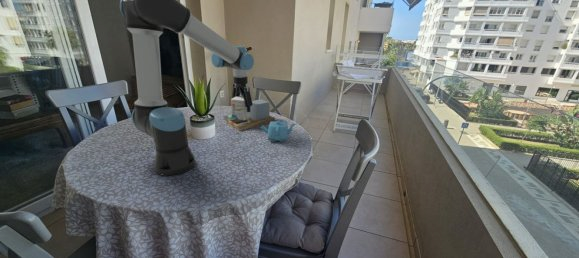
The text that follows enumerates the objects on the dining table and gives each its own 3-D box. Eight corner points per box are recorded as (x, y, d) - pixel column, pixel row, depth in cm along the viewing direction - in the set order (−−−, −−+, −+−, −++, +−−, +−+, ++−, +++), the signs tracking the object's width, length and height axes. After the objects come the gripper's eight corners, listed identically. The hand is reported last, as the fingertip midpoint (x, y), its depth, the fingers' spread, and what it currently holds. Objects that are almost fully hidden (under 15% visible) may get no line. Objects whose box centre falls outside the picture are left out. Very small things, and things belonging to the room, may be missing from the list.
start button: (236, 120, 148) (235, 115, 147) (230, 121, 146) (229, 117, 145) (232, 118, 151) (232, 114, 150) (227, 119, 148) (226, 115, 147)
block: (269, 120, 148) (269, 102, 144) (257, 124, 143) (256, 104, 138) (261, 117, 154) (261, 99, 150) (249, 120, 148) (249, 101, 144)
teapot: (259, 144, 119) (259, 125, 116) (262, 133, 132) (262, 116, 129) (295, 145, 119) (296, 126, 115) (295, 134, 132) (296, 117, 129)
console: (239, 121, 148) (239, 117, 147) (229, 124, 144) (229, 119, 143) (233, 118, 153) (233, 114, 152) (223, 121, 149) (223, 116, 148)
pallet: (274, 123, 148) (274, 117, 147) (239, 132, 132) (239, 126, 131) (261, 117, 158) (261, 112, 156) (227, 125, 142) (226, 119, 141)
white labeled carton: (231, 118, 136) (230, 98, 132) (239, 114, 144) (237, 95, 140) (245, 120, 134) (244, 100, 130) (252, 116, 141) (251, 96, 137)
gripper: (258, 78, 125) (259, 118, 133) (235, 72, 141) (237, 108, 149) (246, 80, 120) (247, 121, 128) (223, 73, 136) (226, 110, 144)
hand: (242, 114), depth 139 cm, fingers closed on white labeled carton, 11 cm apart
